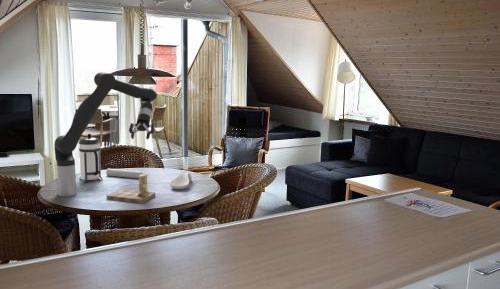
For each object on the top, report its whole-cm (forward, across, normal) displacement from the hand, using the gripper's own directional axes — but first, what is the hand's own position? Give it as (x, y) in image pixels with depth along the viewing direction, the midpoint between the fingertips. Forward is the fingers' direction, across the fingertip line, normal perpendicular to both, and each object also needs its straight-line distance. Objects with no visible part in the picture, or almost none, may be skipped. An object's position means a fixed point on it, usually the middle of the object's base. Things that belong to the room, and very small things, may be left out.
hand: (139, 138), depth 242 cm
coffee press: (+10, -35, +34) cm, 50 cm away
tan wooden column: (+33, +6, +8) cm, 34 cm away
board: (+34, -1, +10) cm, 35 cm away
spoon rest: (+15, +23, +29) cm, 40 cm away
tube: (+2, -17, +42) cm, 45 cm away
